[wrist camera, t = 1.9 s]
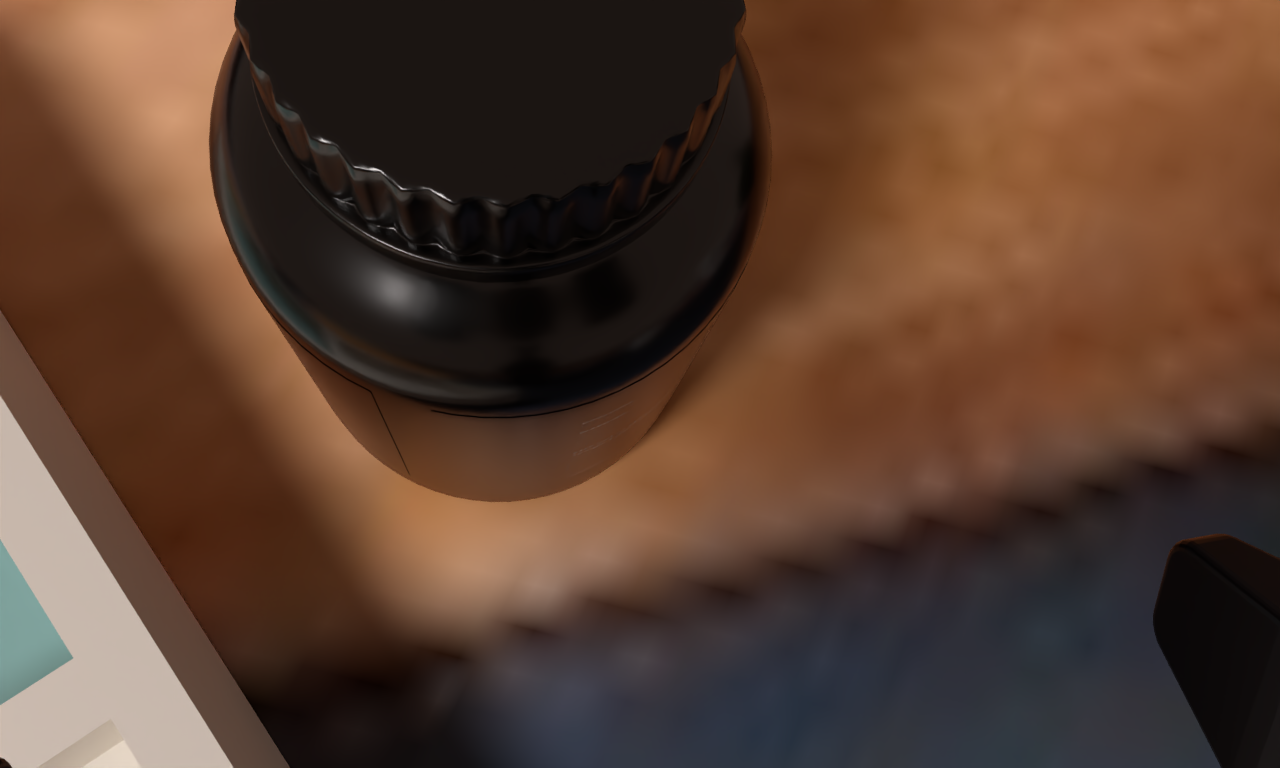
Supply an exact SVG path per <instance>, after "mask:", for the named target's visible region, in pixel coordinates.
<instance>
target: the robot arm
mask: <svg viewBox="0 0 1280 768" xmlns="http://www.w3.org/2000/svg"><path fill="white" fill-rule="evenodd" d="M1153 626H1154V632H1155V635H1156V639H1157V641H1158V644H1159V646H1160V648H1161V650H1162V652H1163V654H1164V656H1165V658H1166V660H1167V662H1168V664H1169V666H1170V668H1171V670H1172V672H1173V674H1174V676H1175V678H1176V680H1177V682H1178V683H1179V685H1180V687H1181V689H1182V691H1183V693H1184V695H1185V697H1186V699H1187V701H1188V703H1189V705H1190V707H1191V709H1192V711H1193V713H1194V715H1195V717H1196V719H1197V721H1198V723H1199V725H1200V727H1201V729H1202V731H1203V732H1204V734H1205V736H1206V738H1207V740H1208V742H1209V744H1210V746H1211V748H1212V750H1213V752H1214V754H1215V756H1216V758H1217V760H1218V762H1219V764H1220V766H1221V768H1280V558H1277V557H1275V556H1273V555H1271V554H1269V553H1267V552H1265V551H1263V550H1260V549H1258V548H1256V547H1254V546H1252V545H1250V544H1248V543H1246V542H1244V541H1241V540H1239V539H1237V538H1235V537H1232V536H1230V535H1226V534H1213V535H1207V536H1202V537H1196V538H1191V539H1185V540H1181V541H1179V542H1177V543H1176V544H1175V545H1174V546H1173V548H1172V549H1171V550H1170V552H1169V555H1168V558H1167V562H1166V566H1165V570H1164V574H1163V577H1162V581H1161V585H1160V589H1159V593H1158V597H1157V600H1156V604H1155V608H1154V613H1153ZM0 768H12V766H11V765H10V763H9V762H8V761H6V760H5V759H4V758H1V757H0Z"/></svg>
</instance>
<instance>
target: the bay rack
mask: <svg viewBox="0 0 1280 768" xmlns="http://www.w3.org/2000/svg"><path fill="white" fill-rule="evenodd" d="M0 757H1V758H4V759H5V760H6V761H8V762H9V763H10V765H11V766H12V768H290V767H289V765H288V764H287V762H286V760H285V759H284V757H283V756H282V754H281V753H280V751H279V749H278V748H277V746H276V745H275V743H274V742H273V740H272V738H271V737H270V735H269V734H268V732H267V730H266V729H265V727H264V726H263V724H262V723H261V721H260V719H259V718H258V716H257V715H256V713H255V711H254V710H253V708H252V707H251V705H250V704H249V702H248V700H247V699H246V697H245V696H244V694H243V693H242V691H241V689H240V688H239V686H238V685H237V683H236V681H235V680H234V678H233V677H232V675H231V674H230V672H229V670H228V669H227V667H226V666H225V664H224V663H223V661H222V659H221V658H220V656H219V655H218V653H217V651H216V650H215V648H214V647H213V645H212V644H211V642H210V640H209V639H208V637H207V636H206V634H205V633H204V631H203V629H202V628H201V626H200V625H199V623H198V621H197V620H196V618H195V617H194V615H193V614H192V612H191V610H190V609H189V607H188V606H187V604H186V603H185V601H184V599H183V598H182V596H181V595H180V593H179V591H178V590H177V588H176V587H175V585H174V584H173V582H172V580H171V579H170V577H169V576H168V574H167V573H166V571H165V569H164V568H163V566H162V565H161V563H160V561H159V560H158V558H157V557H156V555H155V554H154V552H153V550H152V549H151V547H150V546H149V544H148V543H147V541H146V539H145V538H144V536H143V535H142V533H141V531H140V530H139V528H138V527H137V525H136V524H135V522H134V520H133V519H132V517H131V516H130V514H129V513H128V511H127V509H126V508H125V506H124V505H123V503H122V501H121V500H120V498H119V497H118V495H117V494H116V492H115V490H114V489H113V487H112V486H111V484H110V482H109V481H108V479H107V478H106V476H105V475H104V473H103V471H102V470H101V468H100V467H99V465H98V464H97V462H96V460H95V459H94V457H93V456H92V454H91V452H90V451H89V449H88V448H87V446H86V445H85V443H84V441H83V440H82V438H81V437H80V435H79V434H78V432H77V430H76V429H75V427H74V426H73V424H72V422H71V421H70V419H69V418H68V416H67V415H66V413H65V411H64V410H63V408H62V407H61V405H60V404H59V402H58V400H57V399H56V397H55V396H54V394H53V392H52V391H51V389H50V388H49V386H48V385H47V383H46V381H45V380H44V378H43V377H42V375H41V374H40V372H39V370H38V369H37V367H36V366H35V364H34V362H33V361H32V359H31V358H30V356H29V355H28V353H27V351H26V350H25V348H24V347H23V345H22V344H21V342H20V340H19V339H18V337H17V336H16V334H15V332H14V331H13V329H12V328H11V326H10V325H9V323H8V321H7V320H6V318H5V317H4V315H3V314H2V312H1V310H0Z"/></svg>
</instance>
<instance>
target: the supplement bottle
mask: <svg viewBox="0 0 1280 768" xmlns="http://www.w3.org/2000/svg"><path fill="white" fill-rule="evenodd" d="M745 20H746V8H745V4H744V0H236V6H235V13H234V22H235V27H236V31H235V33H234V35H233V38H232V40H231V43H230V45H229V47H228V50H227V52H226V55H225V57H224V60H223V62H222V65H221V69H220V72H219V76H218V79H217V83H216V86H215V91H214V97H213V103H212V109H211V117H210V133H209V153H210V171H211V177H212V183H213V190H214V196H215V199H216V203H217V207H218V211H219V214H220V218H221V221H222V224H223V227H224V229H225V232H226V234H227V237H228V239H229V242H230V244H231V247H232V249H233V252H234V254H235V256H236V258H237V260H238V262H239V264H240V266H241V268H242V270H243V272H244V274H245V276H246V277H247V279H248V281H249V283H250V285H251V287H252V288H253V290H254V291H255V293H256V294H257V296H258V297H259V299H260V300H261V302H262V303H263V305H264V307H265V308H266V310H267V311H268V313H269V314H270V316H271V317H272V319H273V320H274V322H275V323H276V325H277V326H278V328H279V329H280V331H281V332H282V334H283V335H284V337H285V338H286V340H287V341H288V343H289V344H290V346H291V347H292V349H293V350H294V352H295V354H296V355H297V357H298V358H299V360H300V361H301V363H302V364H303V366H304V367H305V369H306V370H307V372H308V373H309V375H310V376H311V378H312V379H313V381H314V382H315V384H316V385H317V387H318V388H319V390H320V391H321V393H322V394H323V396H324V397H325V399H326V400H327V402H328V403H329V405H330V406H331V408H332V409H333V411H334V412H335V414H336V415H337V417H338V418H339V419H340V420H341V422H342V423H343V424H344V426H345V427H346V428H347V429H348V430H349V432H350V433H351V434H352V435H353V437H354V438H355V439H356V440H357V441H358V442H359V443H360V444H361V445H362V446H363V447H364V448H365V449H366V450H367V451H368V452H369V453H370V454H372V455H373V456H374V457H375V458H377V459H378V460H379V461H380V462H382V463H383V464H384V465H386V466H387V467H389V468H390V469H392V470H393V471H395V472H396V473H398V474H399V475H401V476H403V477H405V478H407V479H408V480H410V481H412V482H414V483H416V484H418V485H421V486H423V487H426V488H428V489H431V490H433V491H436V492H439V493H442V494H446V495H449V496H453V497H458V498H463V499H468V500H475V501H487V502H512V501H521V500H530V499H534V498H539V497H544V496H548V495H551V494H555V493H558V492H561V491H564V490H567V489H569V488H572V487H574V486H576V485H579V484H581V483H583V482H585V481H587V480H589V479H590V478H592V477H594V476H596V475H598V474H599V473H601V472H602V471H604V470H605V469H607V468H608V467H610V466H611V465H613V464H614V463H615V462H616V461H618V460H619V459H620V458H621V457H623V456H624V455H625V454H626V453H627V452H629V451H630V450H631V449H632V448H633V447H634V445H635V444H636V443H637V442H638V441H639V440H640V439H641V438H642V437H643V436H644V435H645V433H646V432H647V431H648V430H649V428H650V427H651V426H652V425H653V423H654V422H655V420H656V419H657V417H658V416H659V415H660V413H661V412H662V410H663V409H664V407H665V406H666V404H667V403H668V401H669V399H670V398H671V396H672V394H673V393H674V391H675V389H676V388H677V386H678V384H679V383H680V381H681V379H682V377H683V376H684V374H685V372H686V371H687V369H688V367H689V366H690V364H691V362H692V360H693V359H694V357H695V355H696V354H697V352H698V350H699V348H700V347H701V345H702V343H703V342H704V340H705V338H706V337H707V335H708V333H709V331H710V330H711V328H712V326H713V325H714V323H715V321H716V320H717V318H718V316H719V314H720V313H721V311H722V309H723V308H724V306H725V304H726V302H727V301H728V299H729V297H730V296H731V294H732V292H733V290H734V288H735V287H736V285H737V283H738V281H739V279H740V277H741V275H742V273H743V271H744V269H745V267H746V265H747V262H748V260H749V257H750V255H751V252H752V249H753V247H754V244H755V242H756V239H757V236H758V234H759V231H760V228H761V224H762V220H763V217H764V213H765V209H766V205H767V199H768V193H769V187H770V180H771V161H772V150H771V131H770V122H769V116H768V109H767V103H766V99H765V95H764V91H763V87H762V84H761V80H760V77H759V74H758V71H757V69H756V66H755V63H754V61H753V58H752V55H751V53H750V51H749V48H748V46H747V44H746V42H745V40H744V38H743V36H742V34H741V32H742V30H743V27H744V24H745Z"/></svg>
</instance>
